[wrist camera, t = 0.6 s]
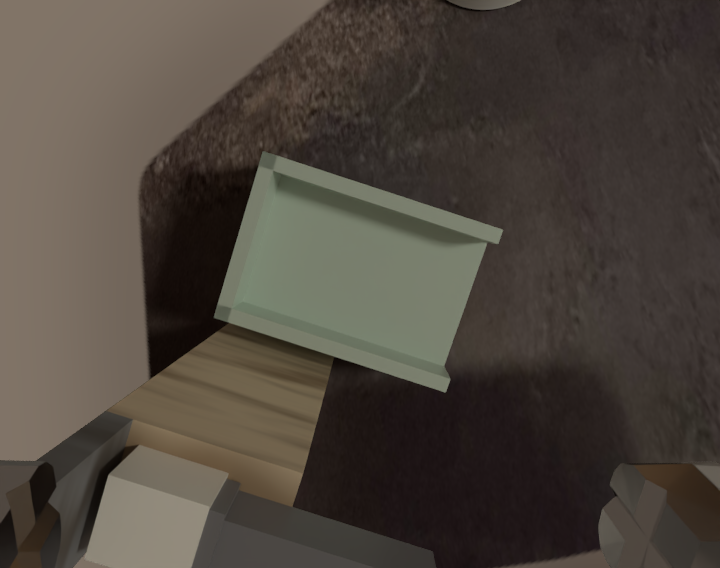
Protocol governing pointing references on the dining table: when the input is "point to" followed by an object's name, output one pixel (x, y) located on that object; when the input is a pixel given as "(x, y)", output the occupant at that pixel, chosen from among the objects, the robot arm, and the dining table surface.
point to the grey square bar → (222, 525)
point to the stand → (201, 425)
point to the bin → (352, 271)
